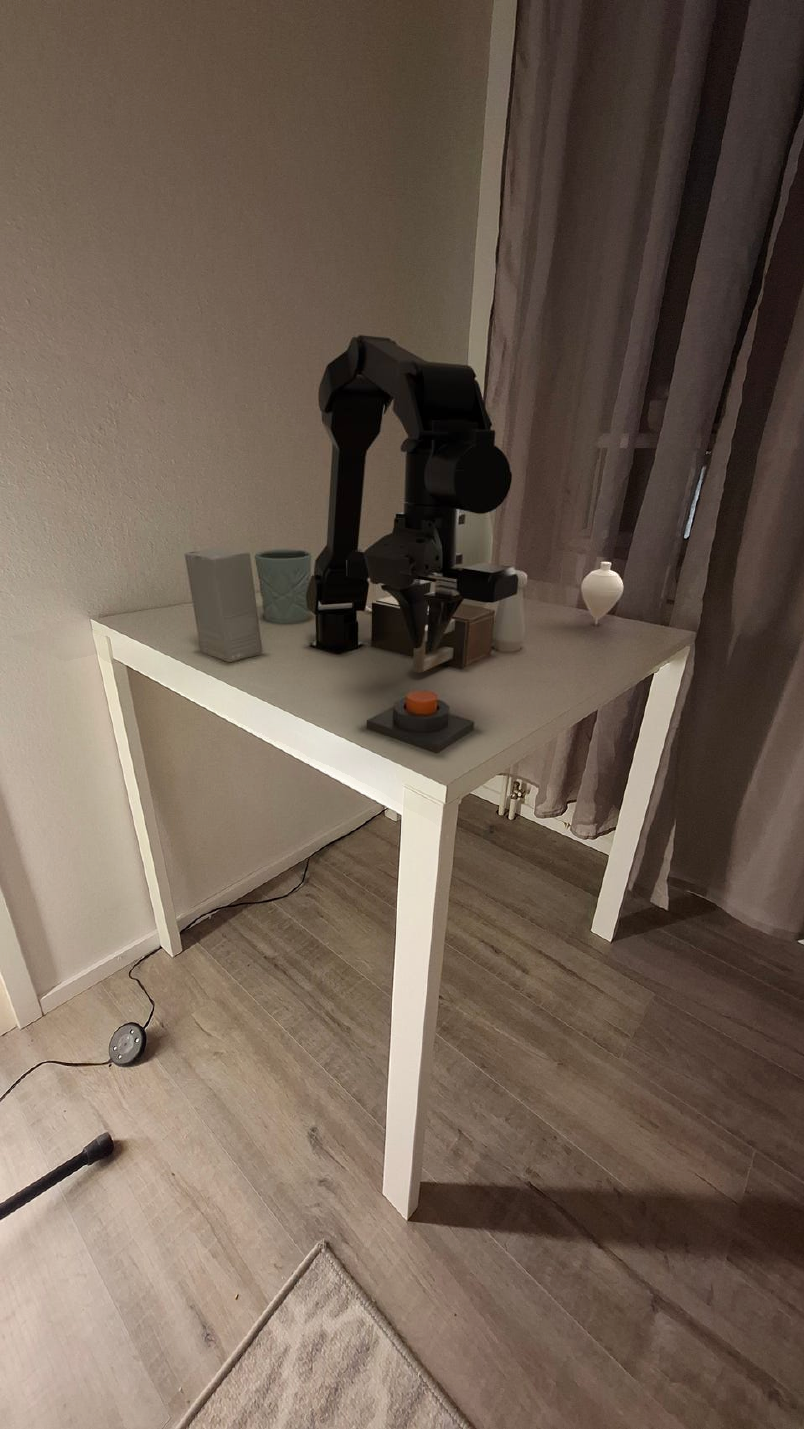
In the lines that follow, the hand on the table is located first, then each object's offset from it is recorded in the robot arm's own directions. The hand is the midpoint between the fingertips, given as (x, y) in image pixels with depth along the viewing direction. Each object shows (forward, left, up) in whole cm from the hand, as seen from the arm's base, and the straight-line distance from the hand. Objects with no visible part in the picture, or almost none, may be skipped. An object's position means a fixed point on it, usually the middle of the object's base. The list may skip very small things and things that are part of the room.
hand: (424, 649), depth 69 cm
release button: (0, 0, -7) cm, 7 cm away
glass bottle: (-23, +47, -10) cm, 53 cm away
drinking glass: (-48, +25, -10) cm, 55 cm away
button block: (0, 0, -10) cm, 10 cm away
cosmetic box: (-39, +4, -10) cm, 40 cm away
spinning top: (-1, +62, -10) cm, 62 cm away
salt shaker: (-7, +36, -10) cm, 38 cm away
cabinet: (-16, +27, -10) cm, 33 cm away
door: (-16, +17, -10) cm, 26 cm away
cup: (-37, +40, -10) cm, 55 cm away
